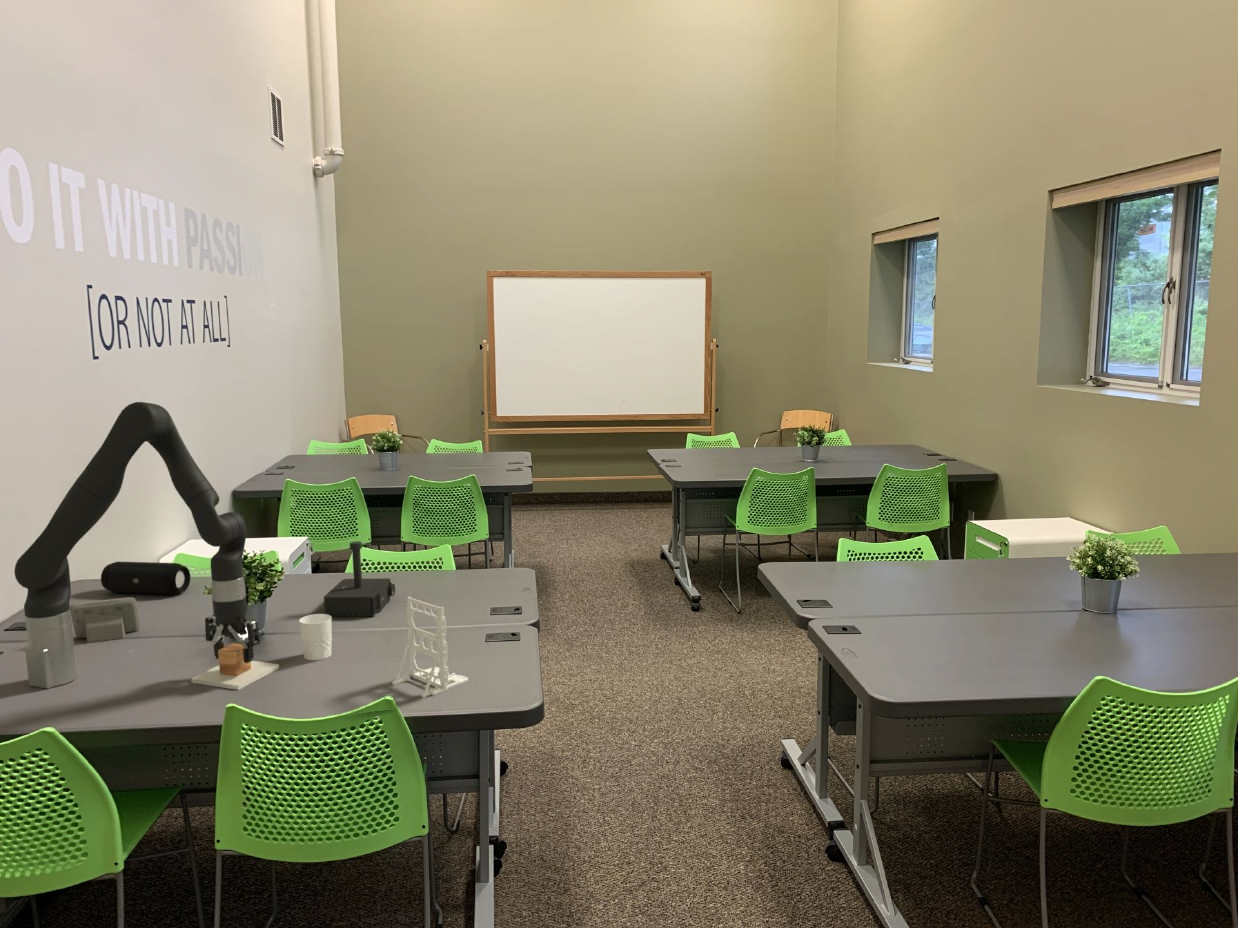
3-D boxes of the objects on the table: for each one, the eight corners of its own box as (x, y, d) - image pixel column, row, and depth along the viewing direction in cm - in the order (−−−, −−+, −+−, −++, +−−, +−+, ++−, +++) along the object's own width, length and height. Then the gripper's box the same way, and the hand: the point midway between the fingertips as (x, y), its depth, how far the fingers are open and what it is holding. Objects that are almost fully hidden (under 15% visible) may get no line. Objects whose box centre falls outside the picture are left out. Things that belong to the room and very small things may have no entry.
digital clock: (143, 628, 260) (139, 592, 259) (133, 639, 252) (129, 602, 250) (81, 633, 257) (77, 596, 256) (68, 644, 249) (63, 606, 247)
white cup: (301, 652, 240) (298, 616, 238) (332, 648, 243) (330, 612, 241) (302, 663, 233) (299, 625, 231) (334, 658, 235) (332, 621, 234)
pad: (238, 689, 217) (238, 685, 216) (191, 682, 221) (191, 678, 221) (278, 668, 230) (278, 664, 229) (233, 661, 234) (233, 658, 234)
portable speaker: (100, 596, 292) (97, 566, 290) (121, 587, 301) (118, 557, 300) (174, 599, 288) (171, 568, 286) (193, 589, 298) (190, 559, 296)
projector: (381, 617, 268) (377, 550, 264) (323, 618, 268) (319, 551, 265) (398, 597, 286) (394, 534, 283) (344, 598, 287) (340, 535, 284)
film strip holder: (473, 680, 220) (470, 600, 217) (426, 699, 210) (422, 614, 207) (436, 666, 230) (432, 588, 226) (389, 682, 219) (384, 602, 216)
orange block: (236, 676, 222) (234, 652, 221) (220, 673, 224) (217, 650, 223) (251, 668, 227) (249, 645, 226) (234, 666, 228) (232, 643, 227)
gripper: (193, 597, 221) (199, 662, 223) (241, 603, 216) (247, 668, 219) (217, 588, 228) (222, 651, 230) (264, 593, 223) (268, 657, 226)
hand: (234, 659), depth 225 cm, fingers open, 8 cm apart
